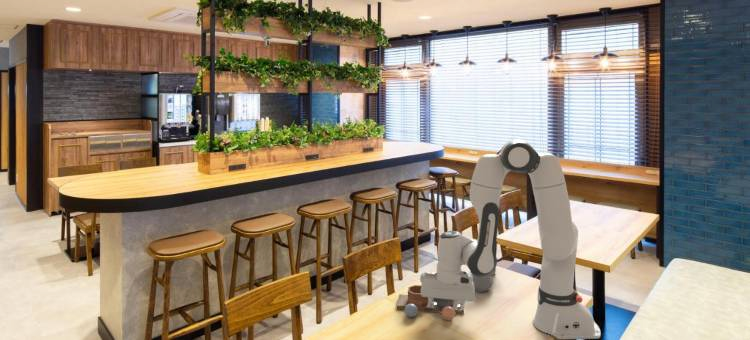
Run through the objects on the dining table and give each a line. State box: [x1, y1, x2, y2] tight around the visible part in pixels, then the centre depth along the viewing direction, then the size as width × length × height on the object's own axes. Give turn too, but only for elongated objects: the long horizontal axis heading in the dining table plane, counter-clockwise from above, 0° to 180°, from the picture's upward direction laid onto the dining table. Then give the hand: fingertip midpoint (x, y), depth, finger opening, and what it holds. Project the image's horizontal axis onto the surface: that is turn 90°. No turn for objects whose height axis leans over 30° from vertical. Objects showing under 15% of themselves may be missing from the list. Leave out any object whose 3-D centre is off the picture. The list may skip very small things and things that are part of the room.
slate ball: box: [404, 304, 419, 318], centre depth 170 cm, size 5×5×5 cm
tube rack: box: [396, 284, 465, 315], centre depth 179 cm, size 26×10×6 cm, turn 81°
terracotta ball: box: [441, 306, 456, 321], centre depth 168 cm, size 5×5×5 cm
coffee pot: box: [469, 252, 515, 293], centre depth 195 cm, size 21×12×15 cm, turn 101°
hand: (446, 308), depth 169 cm, fingers open, 8 cm apart
